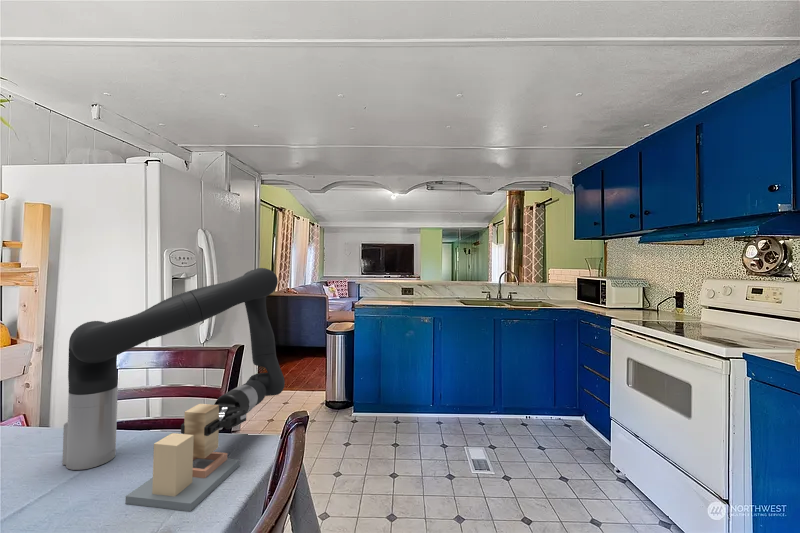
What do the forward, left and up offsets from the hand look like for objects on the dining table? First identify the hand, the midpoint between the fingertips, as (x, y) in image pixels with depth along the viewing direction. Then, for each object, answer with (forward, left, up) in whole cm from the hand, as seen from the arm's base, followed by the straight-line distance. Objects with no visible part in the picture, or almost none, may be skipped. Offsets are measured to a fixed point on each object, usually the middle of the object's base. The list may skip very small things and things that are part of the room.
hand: (194, 430), depth 83 cm
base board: (0, -1, -11) cm, 11 cm away
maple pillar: (0, +3, -6) cm, 7 cm away
